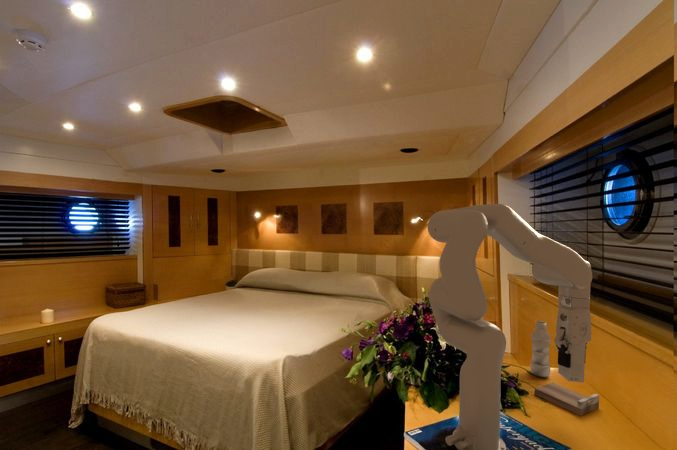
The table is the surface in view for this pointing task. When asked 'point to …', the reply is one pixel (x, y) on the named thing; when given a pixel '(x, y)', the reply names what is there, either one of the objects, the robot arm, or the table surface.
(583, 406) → the shelf board
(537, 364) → the plastic bottle
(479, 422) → the robot arm
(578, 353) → the skincare box
